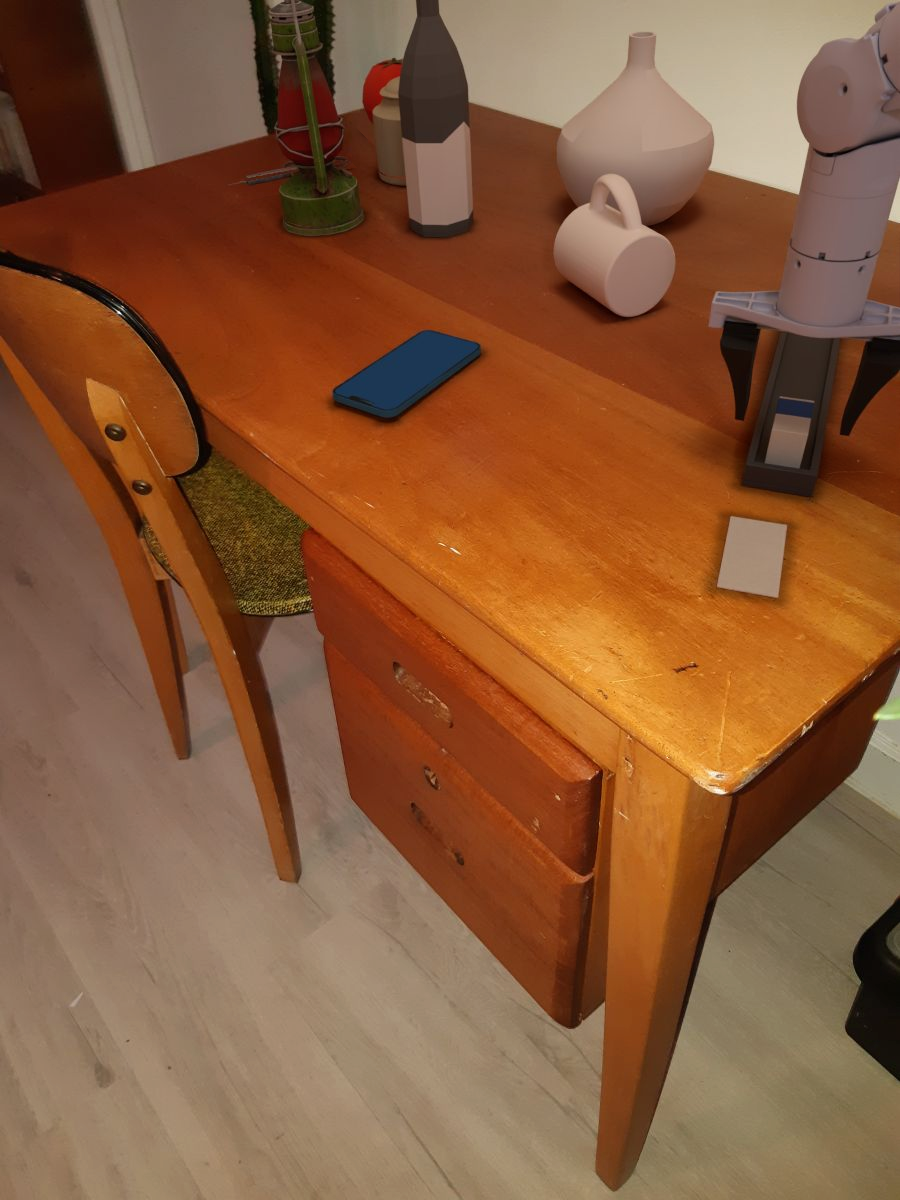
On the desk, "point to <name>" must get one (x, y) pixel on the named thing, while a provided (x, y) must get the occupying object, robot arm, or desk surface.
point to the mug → (614, 251)
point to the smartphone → (406, 373)
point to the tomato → (379, 83)
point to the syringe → (281, 176)
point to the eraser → (789, 432)
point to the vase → (638, 139)
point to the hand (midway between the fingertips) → (792, 421)
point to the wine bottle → (435, 128)
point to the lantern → (309, 131)
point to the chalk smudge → (753, 557)
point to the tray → (801, 375)
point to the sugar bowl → (389, 135)
